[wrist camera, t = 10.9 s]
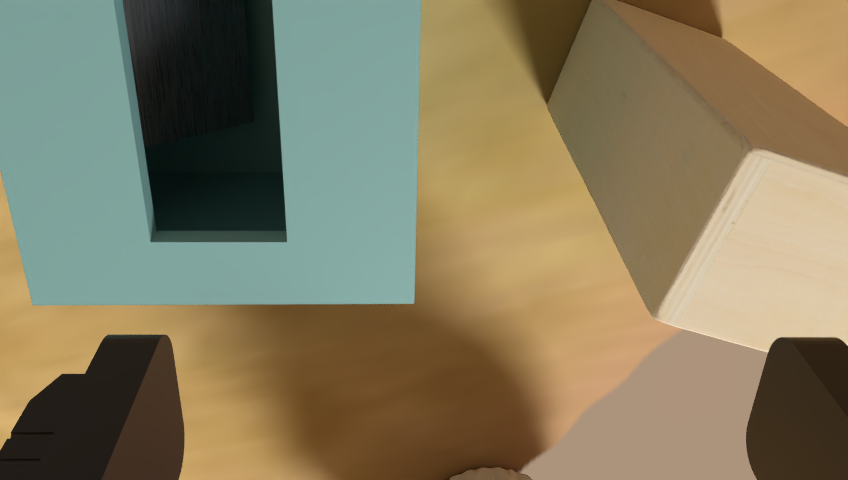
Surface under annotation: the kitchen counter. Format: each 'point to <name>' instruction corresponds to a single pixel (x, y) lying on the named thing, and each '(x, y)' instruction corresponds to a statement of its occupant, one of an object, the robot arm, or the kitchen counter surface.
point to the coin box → (215, 162)
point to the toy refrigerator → (708, 178)
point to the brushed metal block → (189, 66)
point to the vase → (490, 474)
